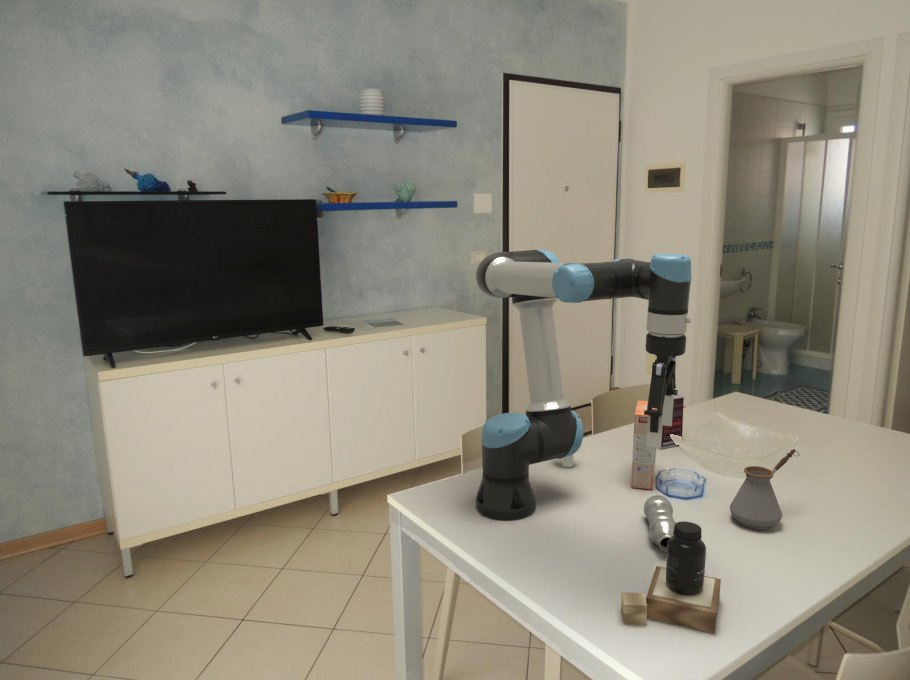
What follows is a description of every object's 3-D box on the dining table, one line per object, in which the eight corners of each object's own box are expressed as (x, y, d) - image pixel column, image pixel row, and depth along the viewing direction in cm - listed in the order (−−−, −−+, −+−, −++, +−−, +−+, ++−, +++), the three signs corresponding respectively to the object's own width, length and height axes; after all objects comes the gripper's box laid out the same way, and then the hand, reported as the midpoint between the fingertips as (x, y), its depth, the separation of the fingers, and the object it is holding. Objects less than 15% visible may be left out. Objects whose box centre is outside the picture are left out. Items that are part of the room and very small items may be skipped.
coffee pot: (763, 538, 151) (768, 476, 148) (718, 519, 160) (722, 460, 157) (813, 513, 162) (819, 455, 160) (769, 497, 172) (774, 442, 169)
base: (645, 617, 123) (646, 596, 122) (655, 584, 133) (656, 564, 133) (714, 633, 118) (716, 611, 117) (719, 597, 128) (720, 577, 128)
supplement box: (671, 440, 214) (674, 393, 211) (682, 445, 209) (685, 397, 206) (650, 445, 210) (652, 396, 207) (660, 449, 206) (663, 400, 203)
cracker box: (653, 491, 177) (657, 415, 173) (630, 488, 179) (633, 413, 174) (656, 471, 190) (659, 400, 186) (634, 469, 192) (636, 399, 187)
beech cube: (623, 624, 121) (624, 604, 120) (620, 611, 125) (621, 592, 124) (646, 625, 121) (647, 605, 120) (642, 612, 124) (643, 592, 124)
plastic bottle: (673, 515, 162) (686, 556, 142) (644, 518, 163) (654, 560, 144) (668, 490, 161) (682, 528, 141) (640, 494, 162) (649, 532, 143)
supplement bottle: (706, 598, 121) (710, 537, 119) (667, 594, 122) (670, 534, 120) (700, 577, 128) (704, 519, 125) (663, 574, 129) (666, 517, 127)
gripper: (677, 348, 118) (669, 460, 123) (694, 323, 140) (686, 419, 145) (634, 344, 121) (627, 453, 126) (657, 320, 143) (651, 414, 148)
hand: (659, 435), depth 135 cm, fingers open, 13 cm apart
